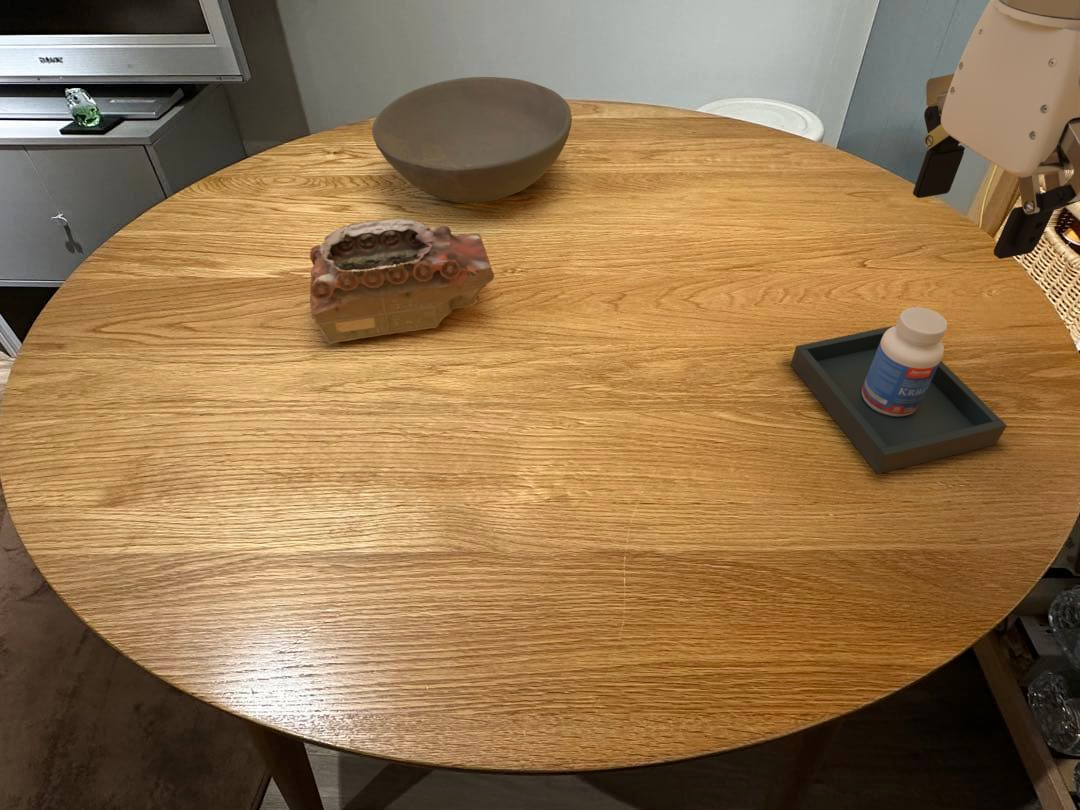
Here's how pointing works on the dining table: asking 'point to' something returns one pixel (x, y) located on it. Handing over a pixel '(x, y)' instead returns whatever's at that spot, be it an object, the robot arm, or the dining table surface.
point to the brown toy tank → (393, 277)
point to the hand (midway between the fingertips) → (968, 222)
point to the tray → (888, 441)
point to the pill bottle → (905, 362)
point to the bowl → (474, 136)
